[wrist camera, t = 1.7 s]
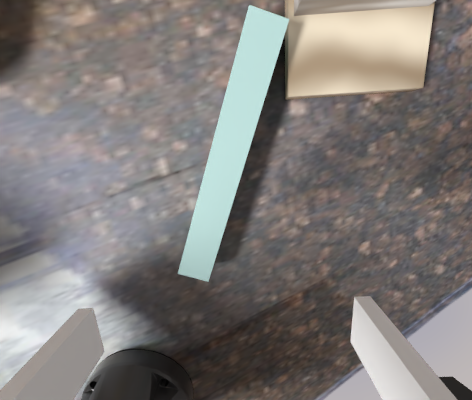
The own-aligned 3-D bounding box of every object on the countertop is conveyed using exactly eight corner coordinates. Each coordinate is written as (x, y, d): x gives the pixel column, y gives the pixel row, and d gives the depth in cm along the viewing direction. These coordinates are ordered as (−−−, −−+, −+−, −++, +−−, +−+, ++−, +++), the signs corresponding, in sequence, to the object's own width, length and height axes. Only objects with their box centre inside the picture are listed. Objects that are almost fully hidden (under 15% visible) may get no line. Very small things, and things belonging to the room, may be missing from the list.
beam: (212, 263, 29) (208, 282, 25) (185, 255, 29) (177, 273, 25) (280, 40, 22) (289, 19, 19) (247, 28, 22) (249, 4, 18)
